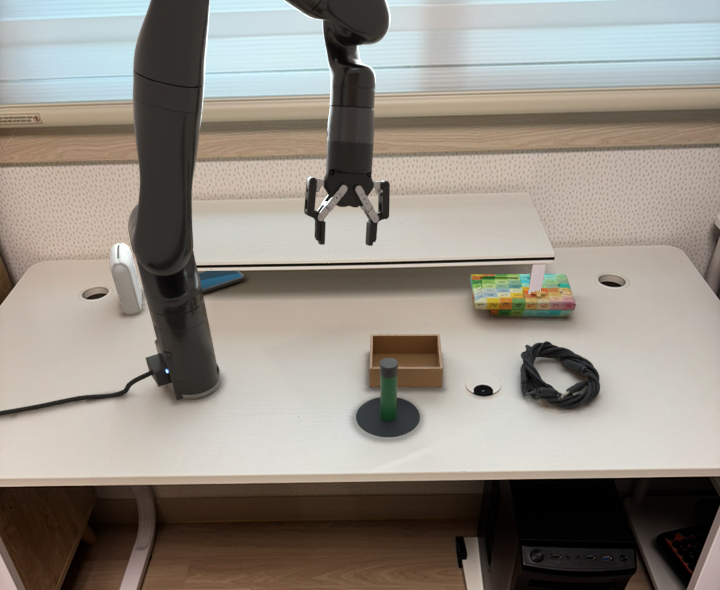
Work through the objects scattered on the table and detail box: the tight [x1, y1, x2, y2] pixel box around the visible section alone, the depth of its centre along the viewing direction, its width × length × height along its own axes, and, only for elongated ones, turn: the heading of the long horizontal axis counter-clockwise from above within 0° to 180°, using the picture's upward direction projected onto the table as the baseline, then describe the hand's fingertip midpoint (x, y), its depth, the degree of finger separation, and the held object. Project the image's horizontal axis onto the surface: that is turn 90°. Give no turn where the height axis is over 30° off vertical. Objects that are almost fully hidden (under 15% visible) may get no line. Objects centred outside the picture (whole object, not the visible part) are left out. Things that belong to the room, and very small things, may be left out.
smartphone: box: [198, 270, 246, 294], centre depth 154 cm, size 8×15×1 cm, turn 123°
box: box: [368, 333, 444, 388], centre depth 127 cm, size 13×11×4 cm
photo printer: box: [109, 242, 143, 315], centre depth 145 cm, size 10×4×12 cm, turn 12°
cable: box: [520, 340, 601, 409], centre depth 125 cm, size 17×14×4 cm
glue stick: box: [379, 358, 398, 421], centre depth 115 cm, size 3×3×11 cm
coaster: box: [355, 396, 421, 438], centre depth 119 cm, size 11×11×1 cm
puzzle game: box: [469, 273, 577, 318], centre depth 143 cm, size 12×5×20 cm
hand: (345, 244), depth 119 cm, fingers open, 8 cm apart
